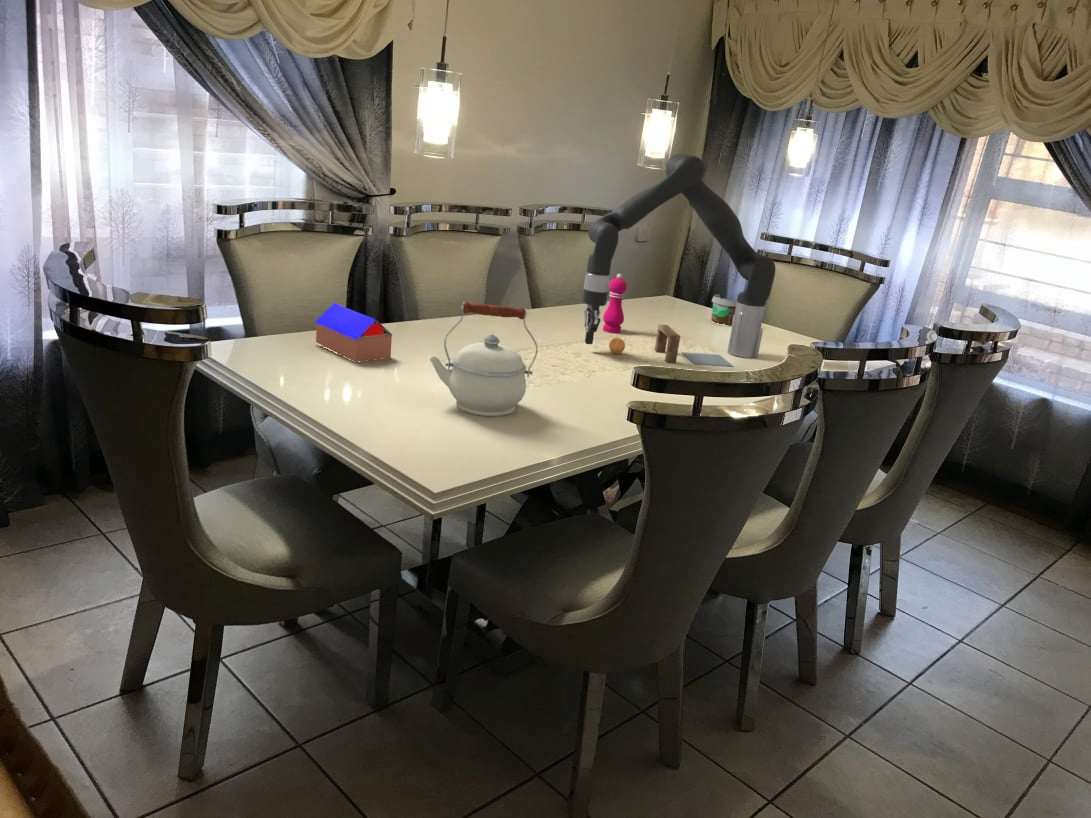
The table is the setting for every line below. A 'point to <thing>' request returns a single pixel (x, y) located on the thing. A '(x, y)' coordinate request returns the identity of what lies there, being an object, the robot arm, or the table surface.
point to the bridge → (672, 345)
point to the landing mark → (707, 359)
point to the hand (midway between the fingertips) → (588, 343)
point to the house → (353, 334)
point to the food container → (723, 310)
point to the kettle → (486, 369)
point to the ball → (617, 345)
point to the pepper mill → (615, 306)
